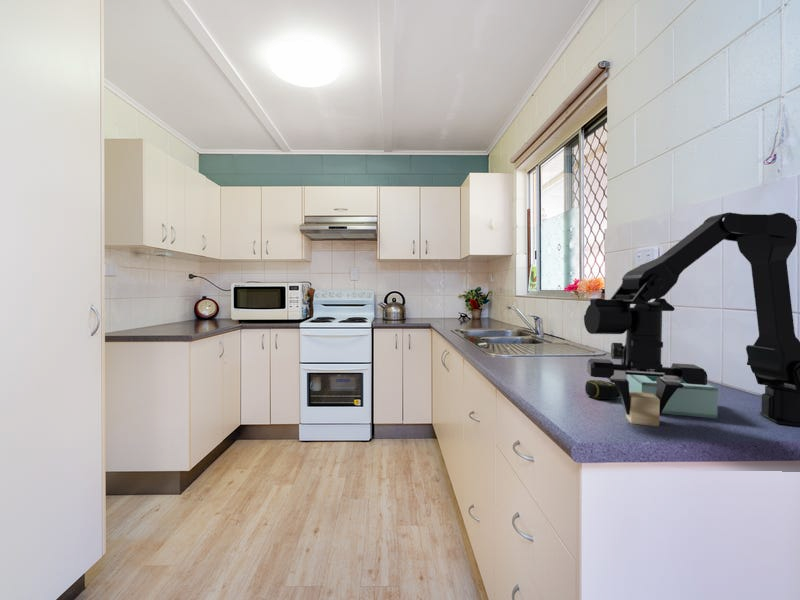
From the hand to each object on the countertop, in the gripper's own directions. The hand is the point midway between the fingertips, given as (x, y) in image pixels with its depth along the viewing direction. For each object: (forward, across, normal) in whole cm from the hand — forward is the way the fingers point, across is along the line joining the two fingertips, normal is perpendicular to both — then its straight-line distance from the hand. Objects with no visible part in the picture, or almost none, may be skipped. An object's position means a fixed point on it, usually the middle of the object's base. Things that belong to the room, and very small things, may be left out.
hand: (641, 415), depth 74 cm
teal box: (+1, -8, -14) cm, 16 cm away
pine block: (+1, 0, 0) cm, 1 cm away
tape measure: (+1, +4, -17) cm, 17 cm away
